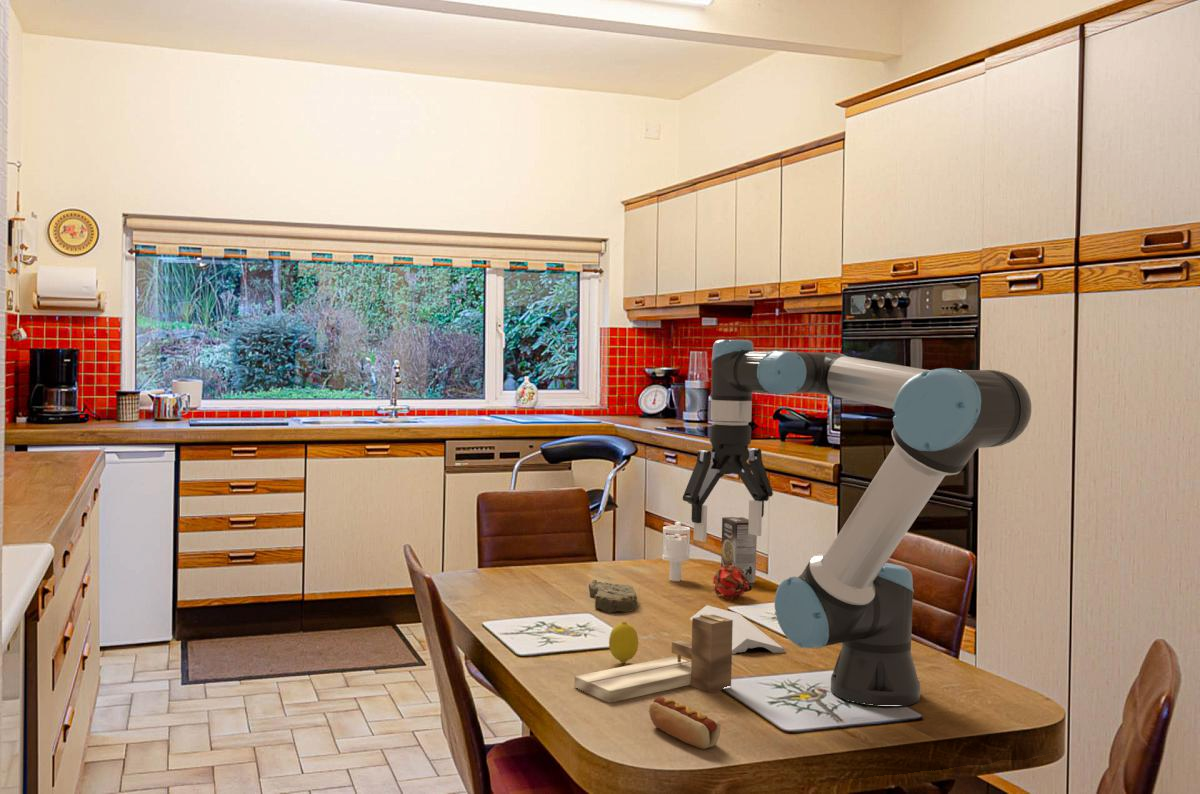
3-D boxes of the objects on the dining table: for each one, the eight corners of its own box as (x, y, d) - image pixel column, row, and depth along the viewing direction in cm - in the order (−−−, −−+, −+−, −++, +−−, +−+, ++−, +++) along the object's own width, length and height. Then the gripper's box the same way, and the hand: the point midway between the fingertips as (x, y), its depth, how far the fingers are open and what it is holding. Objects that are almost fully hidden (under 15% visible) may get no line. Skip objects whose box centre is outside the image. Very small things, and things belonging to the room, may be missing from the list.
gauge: (731, 687, 186) (733, 618, 186) (710, 692, 183) (712, 622, 183) (685, 671, 196) (686, 605, 195) (664, 675, 193) (666, 608, 192)
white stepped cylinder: (690, 578, 281) (691, 522, 281) (686, 583, 274) (688, 526, 274) (664, 576, 283) (665, 520, 282) (659, 581, 276) (661, 524, 275)
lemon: (628, 669, 196) (629, 626, 196) (603, 664, 199) (603, 622, 199) (643, 662, 201) (644, 620, 201) (618, 657, 204) (619, 616, 204)
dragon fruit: (723, 597, 266) (741, 615, 254) (699, 579, 263) (716, 597, 252) (744, 570, 266) (763, 587, 255) (720, 552, 263) (738, 568, 252)
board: (710, 680, 190) (710, 668, 190) (609, 702, 176) (609, 690, 176) (673, 666, 198) (673, 655, 198) (574, 687, 184) (574, 675, 184)
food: (727, 749, 157) (728, 715, 157) (699, 756, 154) (700, 722, 154) (669, 721, 168) (670, 690, 168) (642, 727, 165) (642, 696, 165)
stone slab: (651, 610, 241) (647, 589, 241) (600, 621, 239) (596, 599, 239) (627, 590, 267) (623, 571, 267) (581, 600, 265) (577, 581, 265)
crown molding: (786, 655, 210) (787, 637, 210) (727, 657, 208) (727, 639, 208) (740, 620, 239) (741, 604, 239) (688, 621, 236) (688, 605, 236)
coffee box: (719, 576, 284) (721, 517, 284) (741, 575, 286) (743, 516, 285) (733, 583, 275) (735, 522, 275) (756, 582, 277) (757, 521, 277)
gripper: (765, 421, 205) (762, 529, 206) (665, 423, 191) (662, 540, 192) (793, 423, 199) (790, 535, 200) (692, 425, 185) (689, 546, 186)
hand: (727, 537), depth 196 cm, fingers open, 13 cm apart
